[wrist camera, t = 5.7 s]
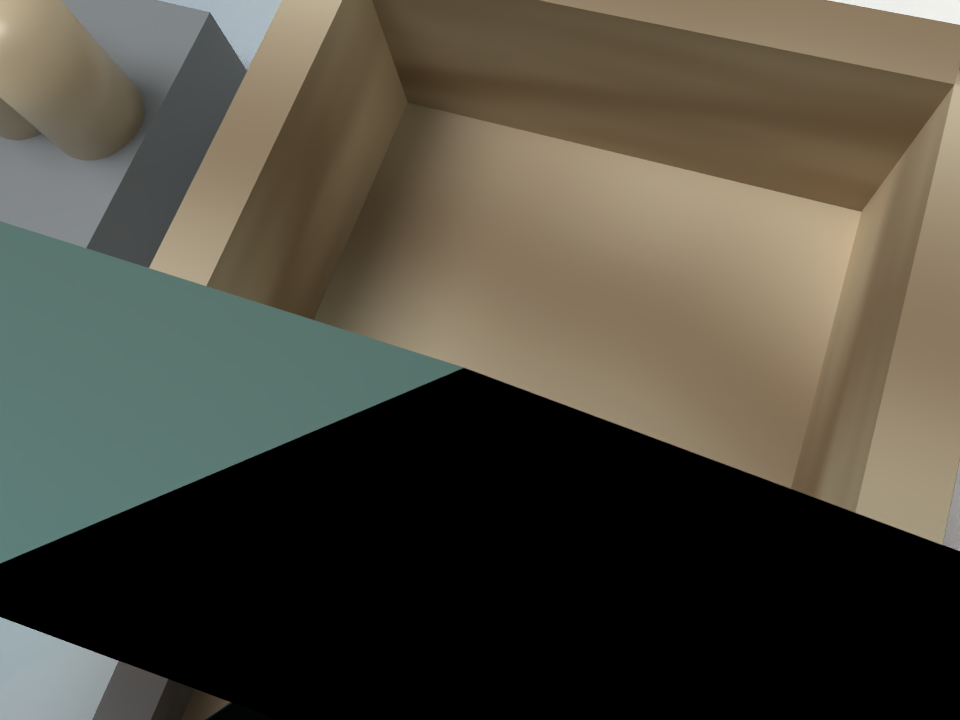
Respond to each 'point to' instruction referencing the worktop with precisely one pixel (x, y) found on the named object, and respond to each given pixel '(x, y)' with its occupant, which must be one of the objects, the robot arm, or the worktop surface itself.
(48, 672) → the worktop surface
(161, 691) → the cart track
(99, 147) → the grey block with cylinders
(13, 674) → the worktop surface
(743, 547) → the cart
